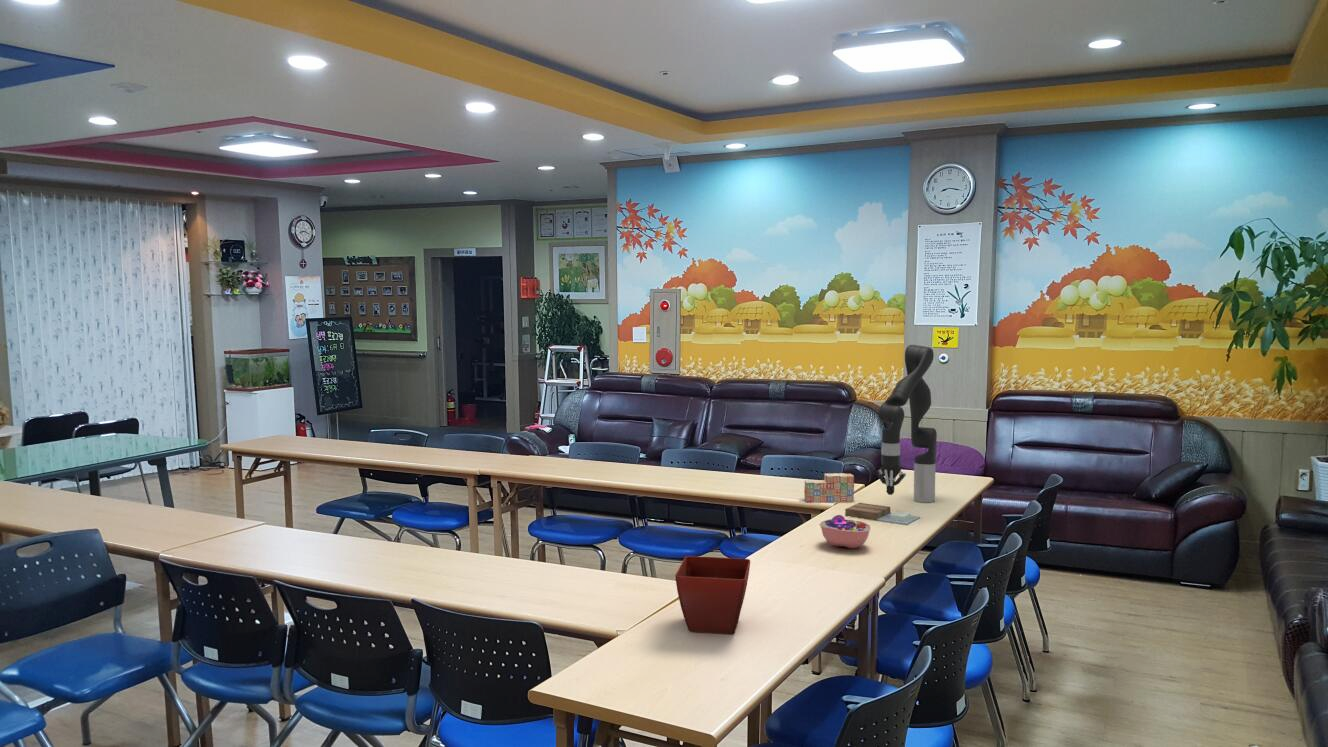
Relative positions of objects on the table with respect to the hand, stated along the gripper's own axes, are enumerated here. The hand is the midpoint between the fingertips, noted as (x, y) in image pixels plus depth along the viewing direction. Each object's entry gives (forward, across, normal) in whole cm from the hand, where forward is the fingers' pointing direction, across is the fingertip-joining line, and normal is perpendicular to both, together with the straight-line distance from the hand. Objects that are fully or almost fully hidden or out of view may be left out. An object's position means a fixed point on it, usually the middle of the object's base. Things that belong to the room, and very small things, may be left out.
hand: (890, 494), depth 371 cm
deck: (+10, +10, 0) cm, 14 cm away
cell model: (+10, -4, +51) cm, 52 cm away
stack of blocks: (+11, +35, -14) cm, 39 cm away
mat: (+10, -4, 0) cm, 11 cm away
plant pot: (+8, -8, +146) cm, 146 cm away
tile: (+8, -5, 0) cm, 9 cm away
